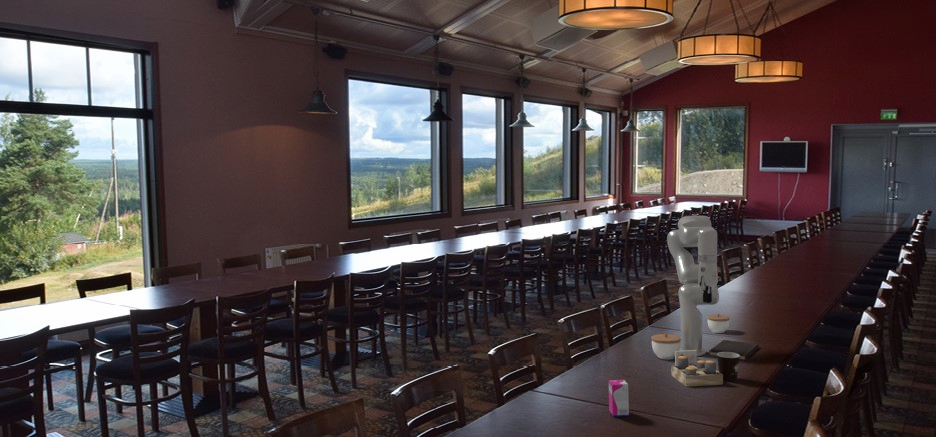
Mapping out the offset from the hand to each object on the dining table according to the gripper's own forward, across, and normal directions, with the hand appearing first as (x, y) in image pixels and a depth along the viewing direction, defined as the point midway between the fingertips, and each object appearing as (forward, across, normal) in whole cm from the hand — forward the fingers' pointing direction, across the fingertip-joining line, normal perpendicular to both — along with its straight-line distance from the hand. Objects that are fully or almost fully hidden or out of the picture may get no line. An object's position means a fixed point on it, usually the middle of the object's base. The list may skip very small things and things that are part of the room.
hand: (707, 302), depth 289 cm
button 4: (+25, -16, -7) cm, 31 cm away
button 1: (+25, -16, +4) cm, 30 cm away
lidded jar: (+30, +66, +20) cm, 75 cm away
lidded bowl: (+29, +8, +22) cm, 37 cm away
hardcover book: (+30, +35, +1) cm, 46 cm away
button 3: (+28, -10, -2) cm, 29 cm away
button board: (+29, -16, -2) cm, 33 cm away
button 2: (+28, -21, -2) cm, 35 cm away
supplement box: (+29, -68, +5) cm, 74 cm away
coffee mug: (+29, -7, -12) cm, 32 cm away
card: (+29, -8, +6) cm, 31 cm away
